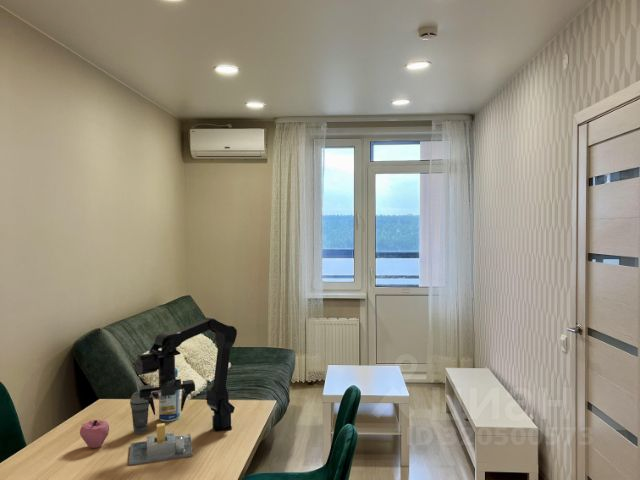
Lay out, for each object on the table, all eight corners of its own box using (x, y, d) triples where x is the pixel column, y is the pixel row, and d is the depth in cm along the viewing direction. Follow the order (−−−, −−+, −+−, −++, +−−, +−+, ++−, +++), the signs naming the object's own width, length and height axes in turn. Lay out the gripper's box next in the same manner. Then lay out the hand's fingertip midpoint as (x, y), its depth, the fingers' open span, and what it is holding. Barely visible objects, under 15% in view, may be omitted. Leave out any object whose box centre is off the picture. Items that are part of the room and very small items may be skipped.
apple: (114, 443, 179) (114, 415, 179) (96, 453, 171) (96, 424, 171) (93, 440, 182) (93, 412, 182) (74, 449, 174) (74, 421, 174)
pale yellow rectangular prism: (164, 445, 174) (164, 423, 174) (165, 448, 172) (164, 425, 172) (157, 447, 173) (156, 424, 173) (157, 450, 171) (156, 426, 171)
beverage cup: (143, 436, 186) (143, 382, 186) (126, 434, 187) (125, 381, 187) (154, 428, 193) (153, 377, 193) (137, 427, 194) (136, 376, 194)
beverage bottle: (184, 417, 205) (184, 368, 205) (168, 423, 198) (167, 373, 198) (170, 413, 210) (170, 365, 210) (154, 419, 203) (153, 370, 203)
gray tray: (189, 438, 183) (188, 421, 183) (192, 456, 168) (192, 438, 168) (130, 446, 177) (130, 429, 177) (129, 465, 162) (128, 446, 161)
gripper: (138, 378, 166) (140, 424, 166) (196, 371, 172) (197, 416, 173) (138, 369, 177) (140, 413, 177) (193, 363, 183) (194, 406, 183)
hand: (168, 412), depth 177 cm, fingers open, 9 cm apart
